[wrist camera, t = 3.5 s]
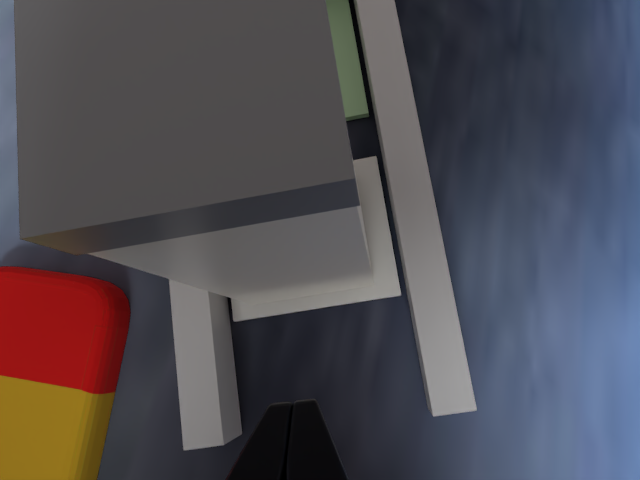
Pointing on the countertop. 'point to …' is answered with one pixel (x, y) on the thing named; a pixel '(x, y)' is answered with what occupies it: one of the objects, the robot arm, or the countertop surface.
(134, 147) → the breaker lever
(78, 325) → the popsicle
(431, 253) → the frame
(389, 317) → the countertop surface
